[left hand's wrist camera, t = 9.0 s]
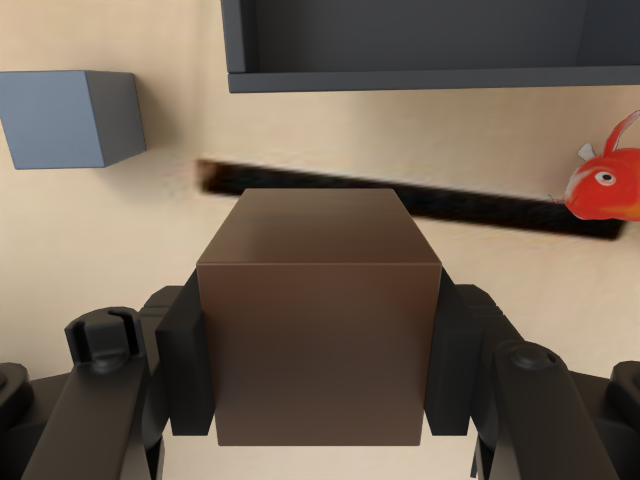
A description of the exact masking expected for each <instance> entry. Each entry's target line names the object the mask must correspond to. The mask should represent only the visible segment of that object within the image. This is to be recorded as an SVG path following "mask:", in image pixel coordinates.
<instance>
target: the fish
mask: <svg viewBox="0 0 640 480" xmlns="http://www.w3.org/2000/svg"><path fill="white" fill-rule="evenodd" d="M639 115H640V110H638V111H636V112H634V113H633V114H631V115H630V116H628V117H627V118H626V119H625V120H623V121H622V122H620V123H619V124H618V125H617V126H616V127H615V128H614V130H613V132H612V133H611V135H610V136H609V138H608V139H607V140H606V144H605V147H604V150H603V153H602V154H599V155H597V156H596V155H595V153H594V150H593V147H592V145H591V144H589V143H587V144H585V145H584V146H583V147H582V148H581V150H580V151H579V152H578V155H579V156H580V157H581V158H583V159H584V160H585V162H584V163H583V164H581V165H580V166H579V167H578V168H577V169H576V170H575V172H574V173H573V175H572V177H571V178H570V181H569V183H568V185H567V188H566V191H565V195H564V199H552V197H551V196H550V195H549V197H550V200H552V201H554V202H555V203H557V202H562V201H565V205H566V206H567V208H568V209H569V210H570V211H571V212H572V213H573V214H574V215H575V216H576V217H578V218H580V219H598V220H603V219H610V218H616V219H620V220H628V221H640V149H638V148H624V149H618V150H616V147H617V145H618V141H619V138H620V135H621V134H622V132H623V131H624V130H625V129H626V128H627V127H628V126H629V125H630V124H631V123H632V122H633V121H634V120H635V119H636V118H637V117H638V116H639Z"/></svg>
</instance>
